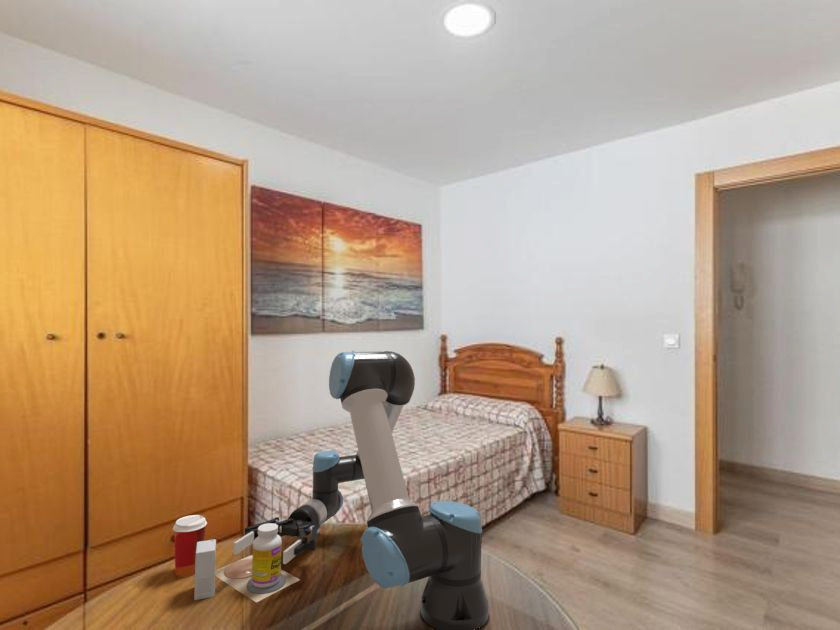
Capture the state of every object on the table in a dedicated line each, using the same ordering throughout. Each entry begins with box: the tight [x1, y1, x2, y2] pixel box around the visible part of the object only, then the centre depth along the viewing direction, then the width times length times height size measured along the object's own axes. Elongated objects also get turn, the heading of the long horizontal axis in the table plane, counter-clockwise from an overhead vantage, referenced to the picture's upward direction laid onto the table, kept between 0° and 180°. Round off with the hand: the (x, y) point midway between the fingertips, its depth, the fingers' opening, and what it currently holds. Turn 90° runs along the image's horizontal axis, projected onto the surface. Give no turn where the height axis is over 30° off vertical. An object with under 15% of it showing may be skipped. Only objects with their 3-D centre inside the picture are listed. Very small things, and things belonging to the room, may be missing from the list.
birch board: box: [215, 554, 301, 604], centre depth 111 cm, size 20×12×2 cm, turn 53°
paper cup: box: [172, 514, 208, 578], centre depth 114 cm, size 8×8×14 cm
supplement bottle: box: [252, 523, 283, 588], centre depth 109 cm, size 7×7×13 cm
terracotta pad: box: [224, 559, 252, 579], centre depth 115 cm, size 9×9×1 cm
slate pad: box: [247, 574, 286, 594], centre depth 108 cm, size 9×9×1 cm
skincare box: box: [193, 539, 217, 601], centre depth 105 cm, size 6×4×12 cm
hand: (259, 553), depth 106 cm, fingers open, 13 cm apart
